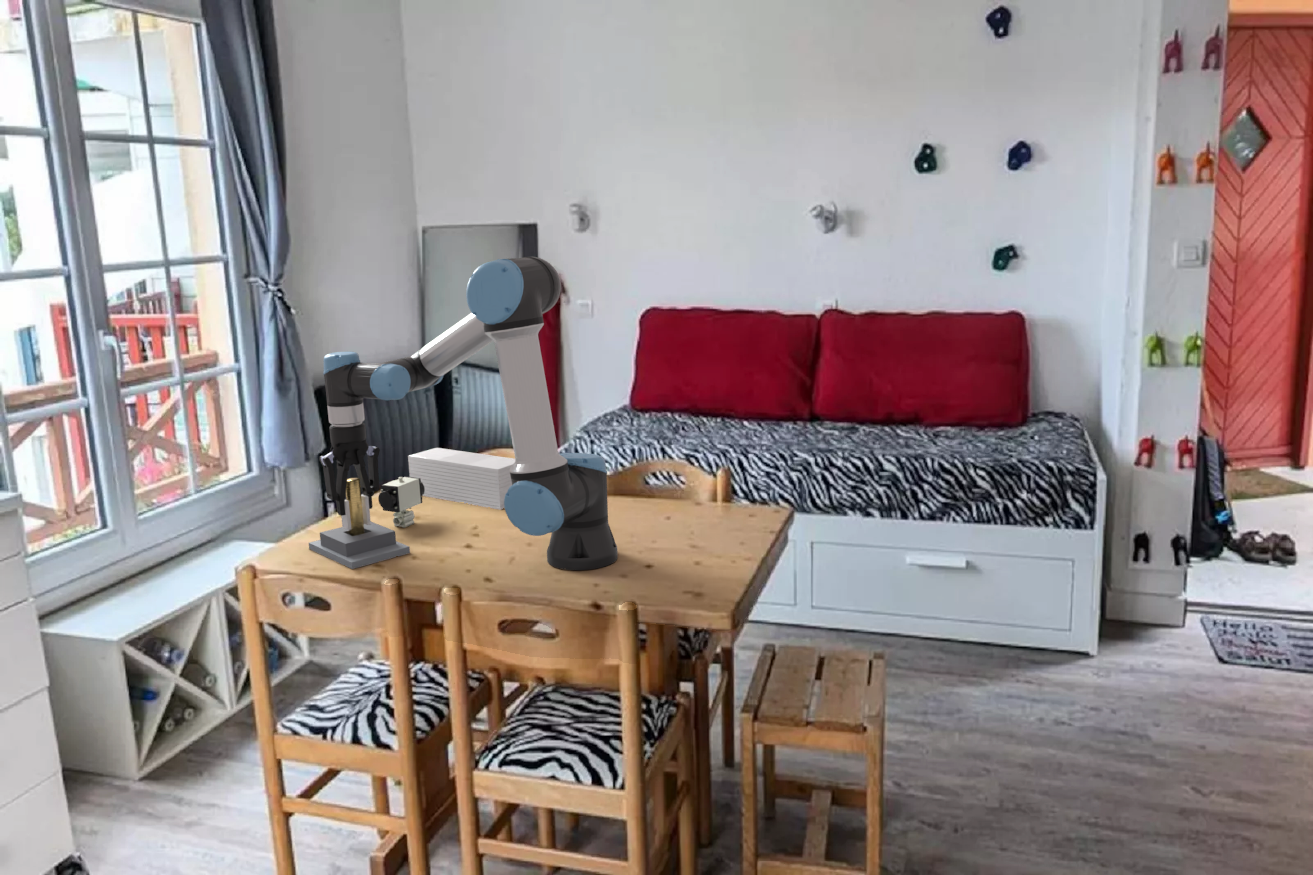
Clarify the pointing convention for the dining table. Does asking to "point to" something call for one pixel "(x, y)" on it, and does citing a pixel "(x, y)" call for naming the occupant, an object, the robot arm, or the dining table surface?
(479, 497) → the stack of papers
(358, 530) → the brass pin
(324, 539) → the grey socket base
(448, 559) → the dining table surface
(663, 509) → the dining table surface
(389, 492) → the pneumatic valve
